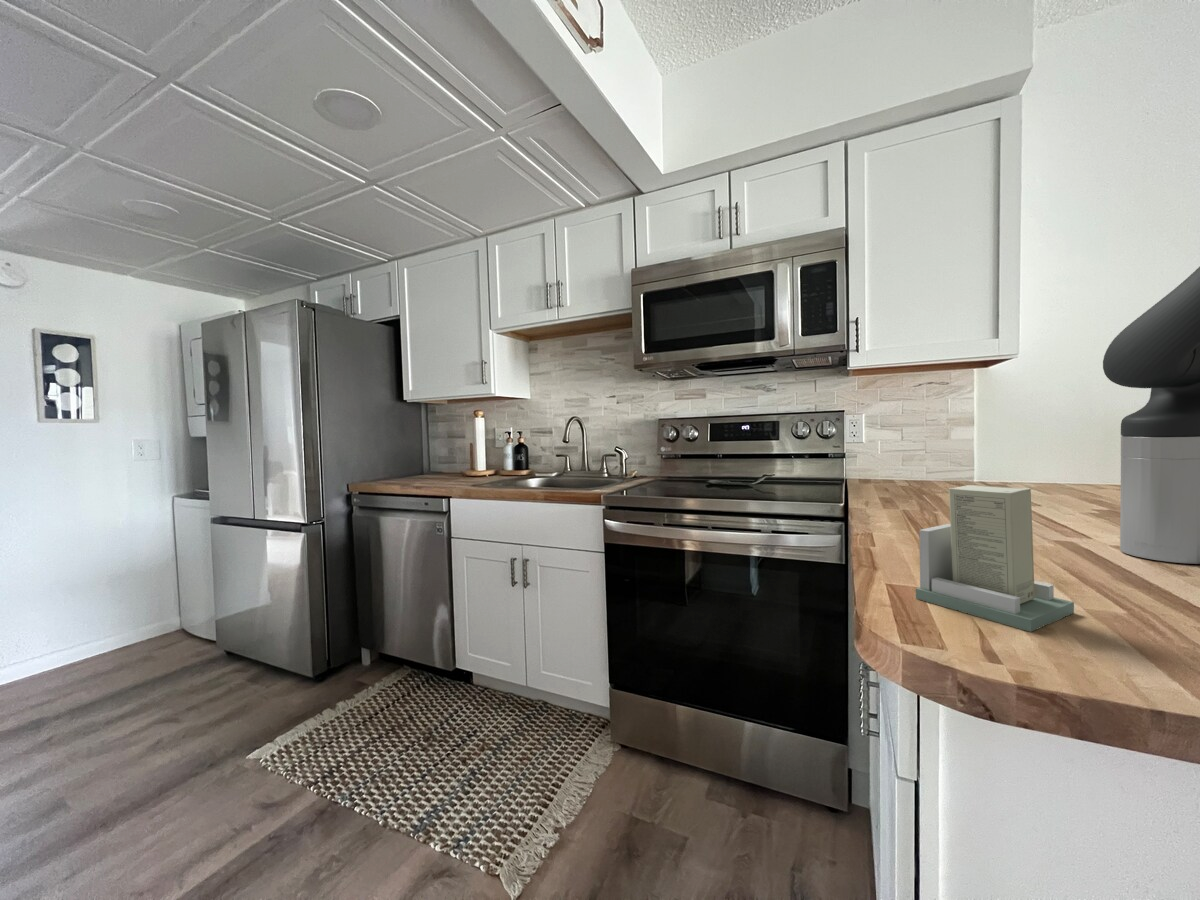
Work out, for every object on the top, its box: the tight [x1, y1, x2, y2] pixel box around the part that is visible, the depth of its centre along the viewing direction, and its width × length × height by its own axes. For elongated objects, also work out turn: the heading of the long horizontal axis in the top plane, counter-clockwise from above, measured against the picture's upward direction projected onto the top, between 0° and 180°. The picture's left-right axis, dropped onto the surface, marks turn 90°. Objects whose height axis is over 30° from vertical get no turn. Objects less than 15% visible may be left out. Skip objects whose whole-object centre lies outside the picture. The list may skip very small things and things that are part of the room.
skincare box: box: [948, 484, 1035, 604], centre depth 54 cm, size 6×4×12 cm
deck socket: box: [915, 523, 1075, 633], centre depth 54 cm, size 9×11×8 cm
